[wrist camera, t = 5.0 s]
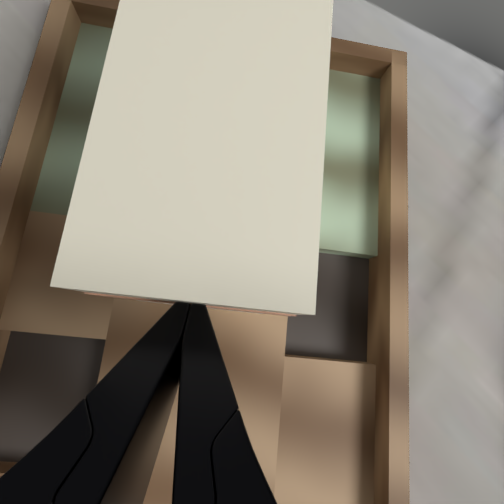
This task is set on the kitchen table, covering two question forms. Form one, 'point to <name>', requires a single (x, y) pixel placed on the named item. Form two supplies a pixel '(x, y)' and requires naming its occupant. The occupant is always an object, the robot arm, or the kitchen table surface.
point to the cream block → (205, 158)
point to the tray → (224, 321)
